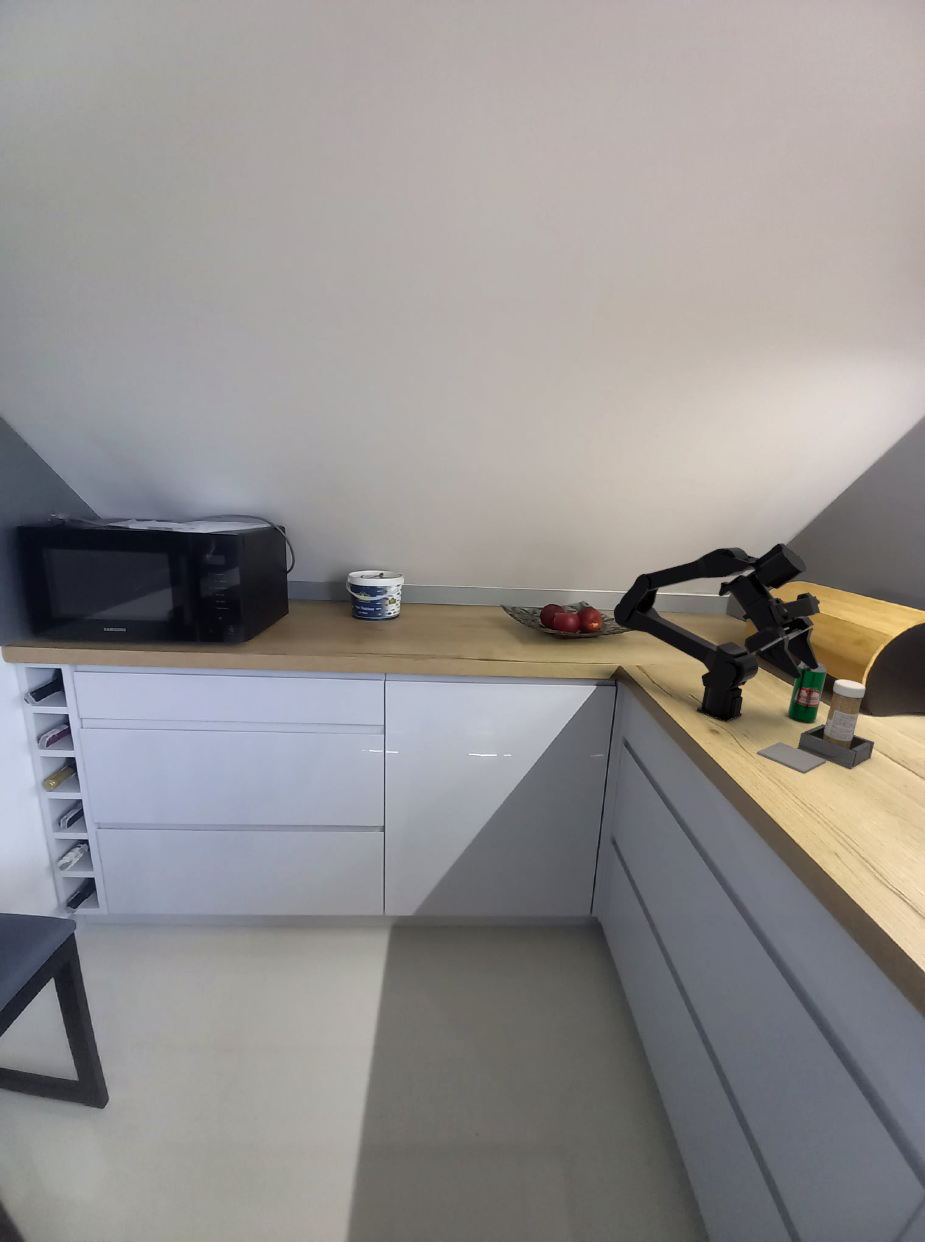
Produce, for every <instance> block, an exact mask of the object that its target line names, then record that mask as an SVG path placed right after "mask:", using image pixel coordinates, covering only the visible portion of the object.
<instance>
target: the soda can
mask: <svg viewBox="0 0 925 1242" xmlns="http://www.w3.org/2000/svg"><path fill="white" fill-rule="evenodd" d="M817 663H818V666H819V667H818V668H816V669H814V670H813V669H811V668H810V667H809V666H807V665H806V664H805V663H803V662H802V661H801V660H800V663H799V665H797V667H798V669H799V671H800V673H801V675H802V676H801V677H799V678H797V679H795V678H794V683H793V687H792V693H791V695H790V696H791V698H790V702H789V706H788V711H787V715H788V716H789V717H790V718H791V719H792V720H794V721H797V722H800V723H807V724H808V723H813V722H815V721H816V720H817V717H818V712H819V707H820V704H821V703H820V701H821V698H822V693H823V690H824V685H825V680H826V676H827V669H826V665H825V664H823V663H821V662H818V661H817Z"/></svg>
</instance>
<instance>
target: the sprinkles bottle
mask: <svg viewBox="0 0 925 1242" xmlns="http://www.w3.org/2000/svg"><path fill="white" fill-rule="evenodd" d="M832 691H833V694H832V698H831V700H830V701H831V702H830V706H829V709H828V712H827V716H826V721H825V724H824V725H825V729H824V735H823V740H825V741H828V742H830V743H833V744H836V745H839V746H841V747H844V748H847V749H849V748H850V744H851V740H852V738H853V735H855V731H856V726H857V722H858V717H859V714H860V713H859V711H860V709H861V708H860V707H861V704H862V700H863V698H864V696H865V693H866V686H865V684H863V683H860V682H858V681H854V680H849V679H836V680H835V681H834V684H833V687H832Z"/></svg>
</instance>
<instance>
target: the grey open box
mask: <svg viewBox="0 0 925 1242" xmlns="http://www.w3.org/2000/svg"><path fill="white" fill-rule="evenodd" d="M825 725H826V724H823V723H822V724H819V725H818V726H814V727H813V728H811V729H808V730H806V731H804V732H801V733H800V736H799V740H798V741H799V743H798V746H797V749H799V750H802V751H804V752H807V753H809V754H812V755H814V756H817V757H819V758H822V759H825V760H826V761H829V762H831V763H833V764H836V765H839V766H841V767H844V768H847V769H849V770H851V769H852V768H854V767H856V766H858V765H860V764H861V763H863V762H865V761H867V760H868V759H871V757H872V754H873V750H874V745H875V741H872V740H871V739H870V740H869V739H868V738H864V737H861V736H858V735H856V734H853V738H852V740H851V744H850V748H849V749H847V748H844V747H841V746H839V745H836V744H833V743H830V742H828V741H825V740H823V735H824V729H825Z"/></svg>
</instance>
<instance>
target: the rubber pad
mask: <svg viewBox="0 0 925 1242" xmlns="http://www.w3.org/2000/svg"><path fill="white" fill-rule="evenodd" d="M756 754H757V755H759V756H761V757H764V758H767V759H769V760H771V761H773V762H776V763H778V764H780V765H783V766H785V767H787V768H791V769H792V770H794V771H797V772H799V773H802V774H806V773H807V772H810V771H813V769H816V768H818V767H820V766H821V765H823V764H825V763H827V760H826V759H823V758H821V757H818V756H816V755H813V754H811V753H808V752H806V751H803V750H801V749H798V747H794V746H791V745H789V744H787V743H784V742H781V741H779V742H777V743H774V744H771V745H769V746H767V747H765V748H762V749H760V750H758V751H757V752H756Z"/></svg>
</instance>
